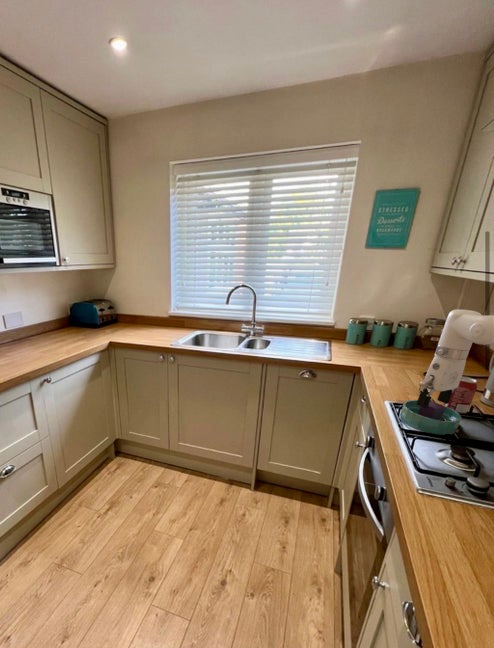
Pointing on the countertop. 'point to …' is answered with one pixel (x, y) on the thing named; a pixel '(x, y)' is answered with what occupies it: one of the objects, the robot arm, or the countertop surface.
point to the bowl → (426, 424)
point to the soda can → (463, 395)
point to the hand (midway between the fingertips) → (432, 404)
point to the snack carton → (432, 411)
